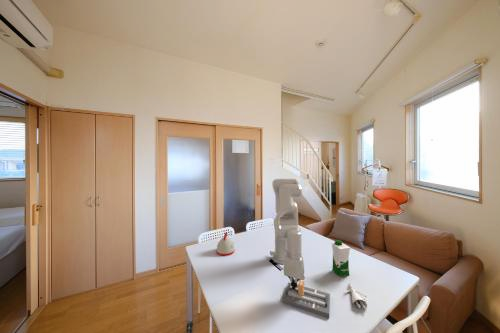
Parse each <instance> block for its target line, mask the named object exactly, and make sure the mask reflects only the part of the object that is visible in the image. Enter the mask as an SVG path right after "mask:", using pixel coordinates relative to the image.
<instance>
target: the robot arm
mask: <svg viewBox="0 0 500 333" xmlns="http://www.w3.org/2000/svg"><path fill="white" fill-rule="evenodd" d="M271 186H272V190H273V193H274V195H275V213H276V215H275V217H274V219H273V227H274V251H272V250H270V251H269V254H270V256H273V257H272V260H273V262H275V263H276V264H279V265H283V276H286V277H287V278H288V279H289V282H290V283H291V286H292V289H294V290H295V289H296V288H297V285H298V283H299V280H301V281H304V280H305V263H304V259H303V256H302V230H301V228H300V226H299V209H298V204H297V202H295V200H294V198H301V197H302V195H303V190H302V186H301V184H300V183H299V181H298V180H297V179H296V178H277V179H276V178H275V179H273V180H272V185H271Z"/></svg>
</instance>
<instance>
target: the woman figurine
mask: <svg viewBox="0 0 500 333" xmlns="http://www.w3.org/2000/svg"><path fill="white" fill-rule="evenodd" d="M347 285H348V286H347V288H348V290H346V291H345V292H343V295H346V294H347V293H349V292H350V293H351V299H352V304H353V307H358V308H359V309H361V307H362V308H363V309H364V310H366V309H367V308H368V304H367V302H366V300H365V299H363V297H365V298H368V296H367V295H365V294H363V293H361V292H359V291H358V290H356V289H355V288H354V287H353V285H352V284H351V283H348V284H347ZM362 296H363V297H362Z"/></svg>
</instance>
